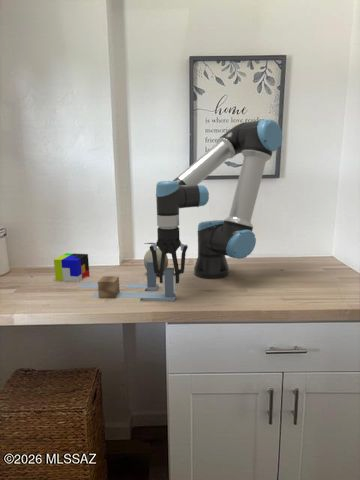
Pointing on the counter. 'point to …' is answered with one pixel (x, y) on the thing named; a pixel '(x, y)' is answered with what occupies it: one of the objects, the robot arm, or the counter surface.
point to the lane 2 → (166, 296)
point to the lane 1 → (151, 279)
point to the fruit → (149, 257)
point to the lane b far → (90, 285)
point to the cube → (108, 287)
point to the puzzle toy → (71, 267)
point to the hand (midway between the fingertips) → (169, 291)
